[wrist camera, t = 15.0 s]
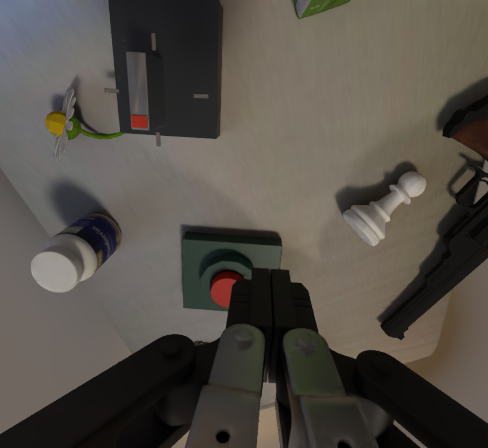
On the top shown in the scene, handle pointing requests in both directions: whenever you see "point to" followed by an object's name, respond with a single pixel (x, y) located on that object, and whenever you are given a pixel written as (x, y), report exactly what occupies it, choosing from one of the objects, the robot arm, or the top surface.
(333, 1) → the ink box
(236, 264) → the button block
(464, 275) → the revolver
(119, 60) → the panel
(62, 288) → the pill bottle
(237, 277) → the button
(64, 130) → the decorative flower
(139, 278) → the top surface
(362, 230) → the chess pawn
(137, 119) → the gray block
